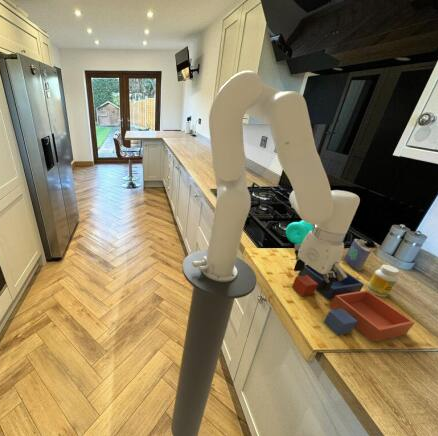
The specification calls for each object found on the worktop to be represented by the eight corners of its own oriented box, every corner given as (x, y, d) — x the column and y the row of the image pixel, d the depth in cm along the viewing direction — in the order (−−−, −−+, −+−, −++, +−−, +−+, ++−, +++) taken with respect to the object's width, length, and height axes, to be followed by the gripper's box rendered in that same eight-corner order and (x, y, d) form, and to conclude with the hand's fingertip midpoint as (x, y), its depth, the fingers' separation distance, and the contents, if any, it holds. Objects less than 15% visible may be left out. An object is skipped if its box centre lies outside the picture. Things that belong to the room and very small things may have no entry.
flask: (362, 271, 88) (375, 247, 83) (353, 270, 89) (365, 246, 84) (350, 257, 96) (361, 235, 91) (342, 256, 97) (352, 233, 92)
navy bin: (328, 299, 74) (333, 289, 72) (298, 274, 85) (302, 264, 83) (358, 294, 77) (364, 284, 75) (325, 271, 87) (329, 261, 85)
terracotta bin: (371, 342, 61) (379, 330, 59) (329, 306, 72) (335, 295, 70) (406, 334, 64) (415, 322, 62) (360, 300, 74) (367, 289, 72)
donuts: (281, 238, 108) (288, 218, 104) (295, 234, 112) (302, 215, 108) (302, 249, 100) (310, 229, 96) (316, 244, 104) (325, 224, 100)
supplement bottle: (371, 284, 82) (384, 261, 77) (390, 294, 77) (405, 271, 73) (362, 288, 80) (375, 265, 75) (382, 299, 75) (397, 275, 71)
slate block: (337, 335, 62) (344, 324, 60) (323, 321, 66) (329, 310, 64) (350, 332, 63) (357, 321, 61) (335, 319, 67) (342, 308, 65)
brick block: (302, 296, 75) (306, 285, 73) (291, 286, 79) (295, 276, 77) (313, 294, 76) (318, 283, 74) (302, 285, 80) (306, 275, 78)
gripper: (294, 221, 75) (280, 265, 82) (346, 251, 59) (324, 301, 67) (313, 219, 76) (298, 262, 84) (369, 247, 61) (345, 297, 68)
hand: (310, 279), depth 75 cm, fingers open, 9 cm apart
